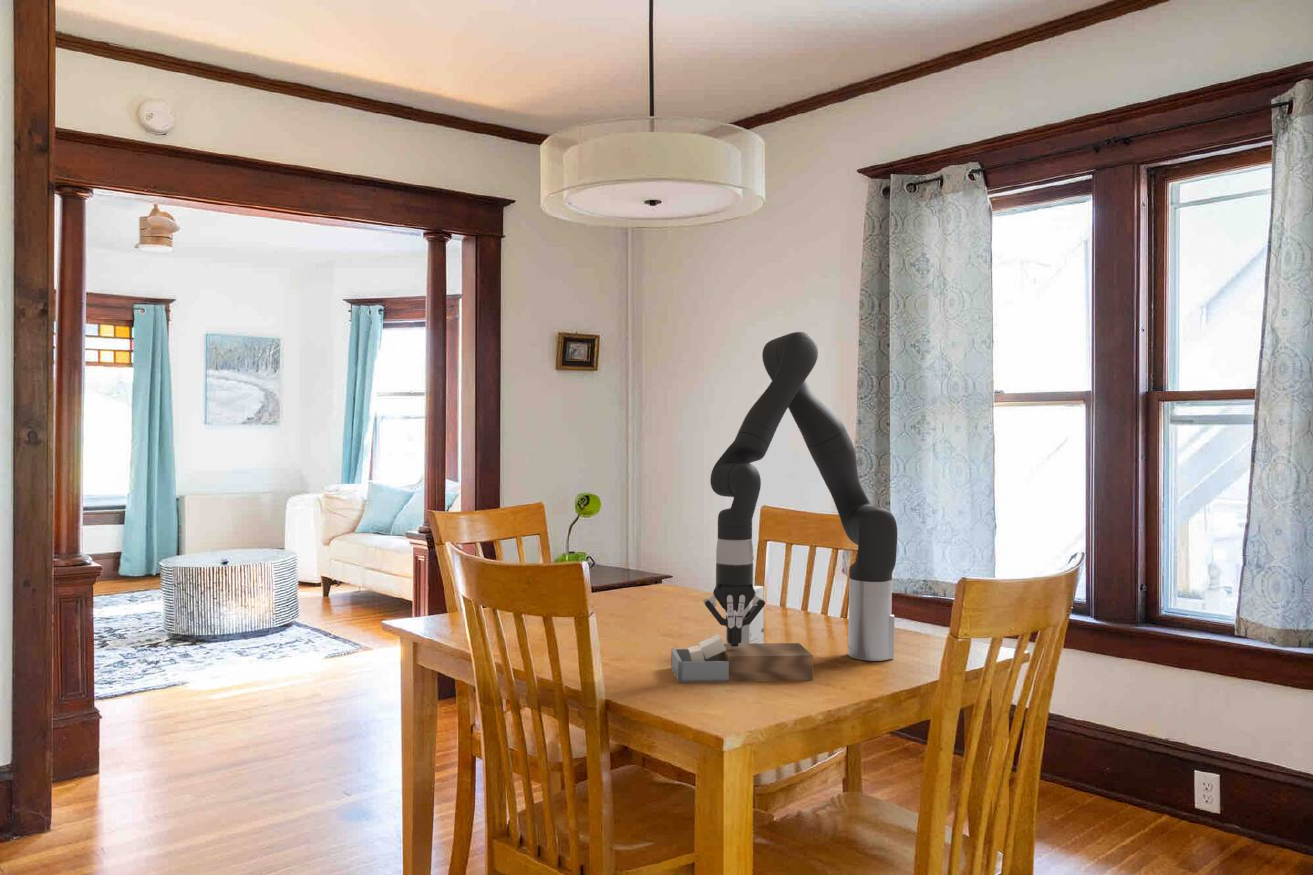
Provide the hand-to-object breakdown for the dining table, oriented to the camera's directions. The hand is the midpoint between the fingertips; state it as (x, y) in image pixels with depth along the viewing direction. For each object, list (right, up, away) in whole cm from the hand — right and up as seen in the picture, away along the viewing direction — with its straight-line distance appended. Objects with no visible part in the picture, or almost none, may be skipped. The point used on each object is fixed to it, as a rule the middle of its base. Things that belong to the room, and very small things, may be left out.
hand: (733, 645), depth 194 cm
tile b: (-6, -3, 0) cm, 7 cm away
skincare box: (+4, -6, +19) cm, 20 cm away
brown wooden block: (+6, -6, +1) cm, 9 cm away
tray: (-7, -6, -1) cm, 9 cm away
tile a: (-4, -2, +1) cm, 4 cm away
